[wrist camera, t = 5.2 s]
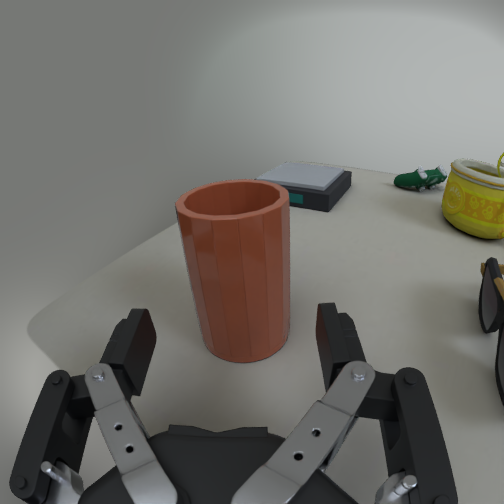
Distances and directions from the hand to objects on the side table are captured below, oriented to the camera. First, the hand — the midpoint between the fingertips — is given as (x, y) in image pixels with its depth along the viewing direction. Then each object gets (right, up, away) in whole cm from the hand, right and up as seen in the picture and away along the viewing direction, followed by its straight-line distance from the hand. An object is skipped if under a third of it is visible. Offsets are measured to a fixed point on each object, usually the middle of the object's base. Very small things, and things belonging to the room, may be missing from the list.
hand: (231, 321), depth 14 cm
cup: (0, -2, +8) cm, 8 cm away
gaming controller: (+29, +14, +32) cm, 46 cm away
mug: (+31, +6, +19) cm, 36 cm away
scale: (+8, +12, +32) cm, 35 cm away
